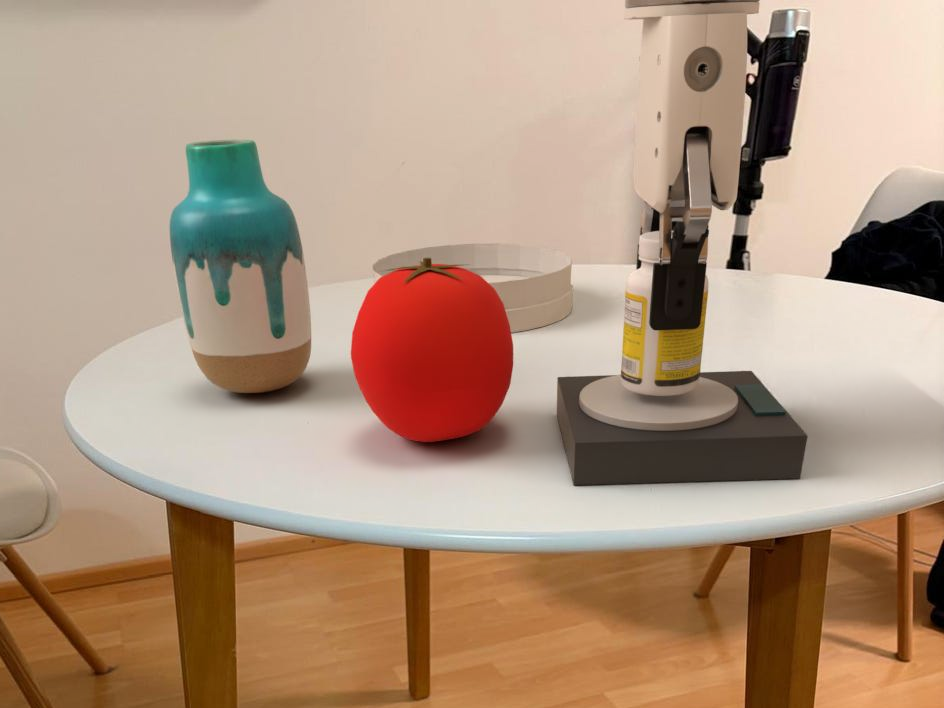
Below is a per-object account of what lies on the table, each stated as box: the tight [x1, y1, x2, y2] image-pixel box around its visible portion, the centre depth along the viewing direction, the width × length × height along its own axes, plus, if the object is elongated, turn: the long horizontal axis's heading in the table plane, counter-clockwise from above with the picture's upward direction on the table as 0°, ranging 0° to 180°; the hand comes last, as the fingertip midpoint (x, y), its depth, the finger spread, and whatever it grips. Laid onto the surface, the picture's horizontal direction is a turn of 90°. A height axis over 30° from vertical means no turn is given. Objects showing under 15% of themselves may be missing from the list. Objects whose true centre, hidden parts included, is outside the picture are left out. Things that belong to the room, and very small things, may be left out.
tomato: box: [350, 258, 514, 443], centre depth 66 cm, size 12×12×13 cm
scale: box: [556, 370, 809, 486], centre depth 65 cm, size 15×14×4 cm
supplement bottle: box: [620, 230, 709, 396], centre depth 61 cm, size 5×5×10 cm
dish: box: [372, 243, 574, 334], centre depth 100 cm, size 22×22×5 cm
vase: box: [169, 139, 312, 394], centre depth 75 cm, size 11×11×19 cm
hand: (665, 313), depth 61 cm, fingers closed on supplement bottle, 5 cm apart
